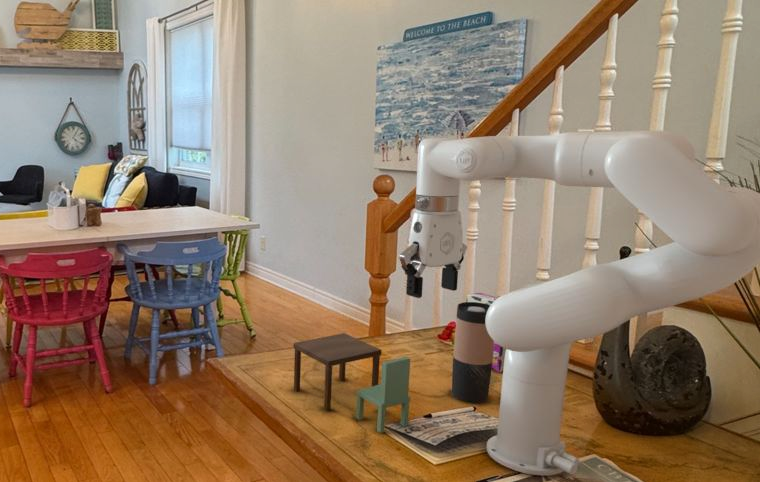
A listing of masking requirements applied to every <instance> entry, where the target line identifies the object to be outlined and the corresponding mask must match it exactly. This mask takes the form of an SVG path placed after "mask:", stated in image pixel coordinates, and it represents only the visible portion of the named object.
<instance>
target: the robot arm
mask: <svg viewBox="0 0 760 482" xmlns="http://www.w3.org/2000/svg"><path fill="white" fill-rule="evenodd" d="M695 151H696V150H695V148H694V145H693V144H692V143H691V141H690V140H689V139H688V138H686V137H685V136H684V135H682V134H680V133H678V132H675V131H671V130H617V131H616V130H614V131H567V132H561V133H558V134H547V135H544V134H543V135H489V136H488V135H487V136H475V137H467V138H459V139H458V138H455V137H429V138H424V139H421V141H420V142H419V143H418V148H417V165H416V166H417V167H416V186H415V187H416V188H415V201H414V206H415V207H414V212H413V215H412V220H411V224H410V230H409V237H408V238H409V239H408V247H407V248H406V249H404V251H402V252H401V253H399V255H398V258H399V261H400V264H401V268H402V270H403V271H404V274H405V276H406V291H405V293H406V295H407V296H409V297H412V298H416V299H421V298H422V297H423V285H424V283H423V282H424V279H423V278H424V277H422V274H423V272H424V270H425V269H426V267H428V268H435V267H441V266H444V267H442V270H441V283H440V284H441V285H440V287H441V288H442V289H445V290H448V291H452V292H455V291H457V290H458V281H459V280H458V278H459V271H460V270H461V268H462V266H461V264H462V262H463V261H464V259H465V254H466V252H467V249H468V246H467V245H466V244H465V243H463V241H464V239H463V222H462V220H463V219H462V215H461V211H460V210H459V202H460V188H461V180H462V181H467V182H474V181H475V182H478V181H482V180H483V181H484V180H490V179H497V178H524V179H541V180H542V179H543V180H550V181H553V182H556V183H557V184H558V185H560V186H564V187H584V188H609V189H610V188H611V189H612V188H613V189H615V188H616V190H617V191H618V192H619V193H620V194H621V195H622V196H623V197H624V198H625V199H626V200H628V201H629V202H630V203H631V204H632V205H633V206H634V207H635V208H636V209H637V210H639V211H640V212H641V213H642V214H643V216H645V217H646V218H648V220H650V221H651V222H652V223H653V224H654V225H655V226H657V227H658V229H660V231H662V232H663V233H664V234H665V235H667V236H668V238H670V239H671V240H673V242H670V243H667V244H664V245H661V246H657V247H655V248H652V249H650V250H647V251H645V252H641V253H638V254H635V255H631V256H628V257H625V258H622V259H617V260H614V261H610V262H605V263H599V264H595V265H590V266H587V267H585V268H583V269H579V270H577V271H575V272H572V273H570V274H567V275H564V276H561V277H558V278H555V279H552V280H549V281H537V282H532V283H530V284H529V283H528V284H526V285H524V286H521V287H519V288H517V289H515V290H513V291H511V292H507V293H505V294H503V295H501V296H499V297H497V299H496V300H495V301H494V302H493V303H492V304H491V305H490V307H489V309H488V311H487V314H486V318H485V324H486V329H487V332H488V334H489V335H490V337H491V338H492V339H493V340H494V341H495V342H496V343H497V344H498V345H500V346H501V347H503V348H505V349H506V352H505V359H504V369H503V372H502V377H501V387H500V388H501V390H500V401H499V412H498V422H497V434H496V435H494V436H491V437H490V438H488V439H487V441H486V448H485V449H486V452H487V454H488V456H489V457H490V458H491V459H493V460H494V461H495V462H496V463H498V464H500V465H501V466H503V467H505V468H507V469H510V470H512V471H516V472H519V473H523V474H528V475H531V476H532V475H533V476H544V477H545V476H546V477H547V476H548V477H549V476H554V475H559V474H561V473H563V472H565V473H567V474H569V475H572V476H574V475H575V474H577V472H578V468H579V466H578V465H579V464H580V459H579V458H578V457H577V456H574V455H572V454H569V453H567V451H566V445H567V443H566V441H564V440H561V439H560V438H561V429H562V421H563V420H562V418H563V412H564V411H563V410H564V401H565V392H566V383H567V379H568V370H569V364H570V363H569V362H570V355H571V350H572V347H573V343H575V342H580V341H582V340H583V341H584V340H588V339H591V338H594V337H598V336H601V335H603V334H607V333H608V332H612V331H613V330H615V329H616V328H618V327H620V326H621V325H623V324H625V323H627V322H628V321H630V320H632V319H633V318H636V317H637V316H640V315H644V314H647V313H651V312H655V311H658V310H662V309H666V308H670V307H674V306H676V305H680V304H683V303H686V302H691V301H694V300H698V299H701V298H704V297H707V296H710V295H712V294H714V293H717V292H720V291H722V290H724V289H726V288H728V287H731V286H732V285H734V284H736V283H737V282H738V281H740V280H742V279H743V278H745V277H746V276H747V275H749V273H750V272H752V270H754V268H756V267H757V266H758V264H760V192H758V191H755V190H754V189H750V188H747V187H741V186H725V187H724V186H723V185H722V184H720V183H718V182H717V181H716V180H715V179H713V178H712V177H711V176H709V175H708V174H707V173H706V172H704V171H703V170H702V169H701V168H699V167H698V166H697V165H696V164H695V163H696V152H695ZM416 266H417V267H416Z"/></svg>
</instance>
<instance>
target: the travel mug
mask: <svg viewBox="0 0 760 482" xmlns="http://www.w3.org/2000/svg"><path fill="white" fill-rule="evenodd" d="M489 307H490V305H488V304H484V303H477V302H466V301H464V302H460V303H458V304H457V309H456V318H455V330H454V331H455V332H454V340H453V341H454V342H453V354H452V373H451V374H452V375H451V376H452V377H451V395H452V396H453V397H454V398H455V399H457V400H459V401H462V402H465V403H470V404H481V403H482V404H483V403H485V402H487V401H488V399H489V392H490V384H491V379H492V378H491V377H492V371H493V369H492V361H493V349H494V340H493V339H492V338H491V337H490V335H489V334H488V332H487V329H486V324H485V318H486V314H487V311H488V309H489Z"/></svg>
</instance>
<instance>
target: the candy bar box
mask: <svg viewBox="0 0 760 482" xmlns="http://www.w3.org/2000/svg"><path fill="white" fill-rule="evenodd" d="M497 298H498V297H497V296H493V295H489V294H486V293H482V292H476V293H470V294H467V295H466V300H465V302H477V303H484V304H488V305H491V304H492V303H493V302H494V301H495V300H496V299H497ZM505 352H506V349H505V348H503V347H501V346H500V345H498V344H497V343H496V342H495V341H494V349H493V361H492V371H495V372H498V373H503V369H504V359H505Z"/></svg>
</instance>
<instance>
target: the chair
mask: <svg viewBox="0 0 760 482" xmlns="http://www.w3.org/2000/svg"><path fill="white" fill-rule="evenodd" d="M410 372H411V358H410V357H408V356H403V357H398V358H394V359H389V360H385V361H382V362H381V379H380V384H378V385H376V386H372V385H371V386H368V387H364V388H360V389H357V390H356V391H355V392H356V393H355V394H356V405H355V406H356V408H355V419H357V420H359V421H361V420H363V419H364V405H365V401H367V402H368V403H370V404H372V405H373V406H376V407H377V424H376V431H377V432H378V433H379V434H382V433H385V427H386V414H387V408H391V407H394V406H399V405H401V407H400V408H401V409H400V425H401V426H402V427H407V426H408V425H409V416H410V415H409V412H410V402H411V396H410V395H409V387H410Z"/></svg>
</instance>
